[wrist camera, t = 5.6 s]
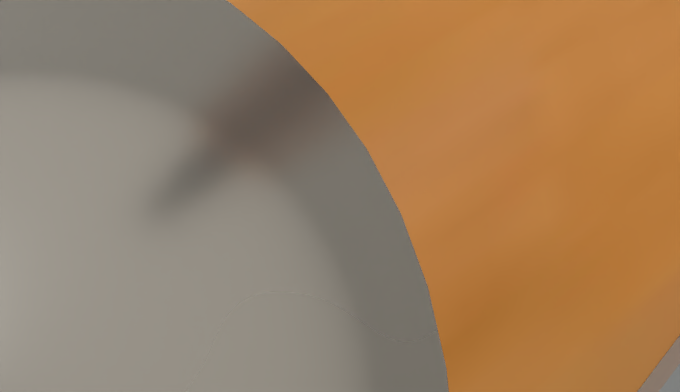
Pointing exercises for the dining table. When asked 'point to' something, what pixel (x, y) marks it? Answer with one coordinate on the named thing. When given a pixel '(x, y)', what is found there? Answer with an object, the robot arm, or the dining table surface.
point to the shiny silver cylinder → (192, 214)
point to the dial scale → (665, 373)
